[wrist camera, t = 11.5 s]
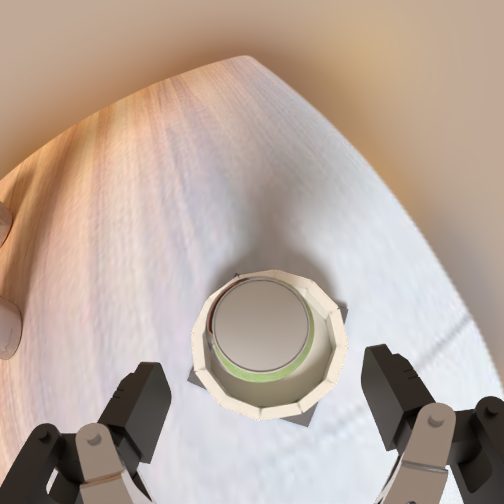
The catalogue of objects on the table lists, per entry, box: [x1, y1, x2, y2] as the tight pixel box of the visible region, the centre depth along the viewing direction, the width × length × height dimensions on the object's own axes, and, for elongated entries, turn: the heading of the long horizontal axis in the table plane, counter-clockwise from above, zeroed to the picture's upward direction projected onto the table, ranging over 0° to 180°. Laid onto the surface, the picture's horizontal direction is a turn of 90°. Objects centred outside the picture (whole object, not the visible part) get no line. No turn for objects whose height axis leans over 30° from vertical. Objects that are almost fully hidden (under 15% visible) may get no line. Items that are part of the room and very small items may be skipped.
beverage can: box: [205, 276, 314, 382], centre depth 19 cm, size 6×7×12 cm
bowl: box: [191, 269, 348, 421], centre depth 23 cm, size 13×13×3 cm
